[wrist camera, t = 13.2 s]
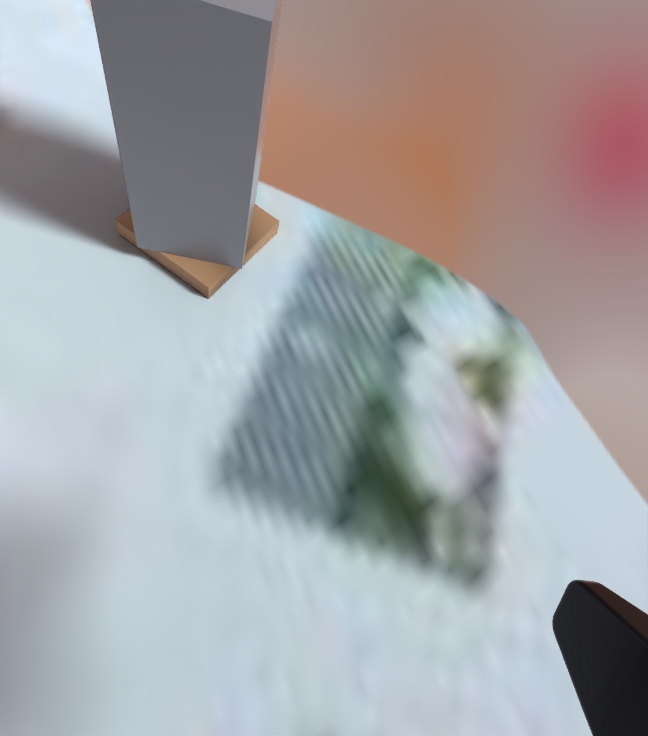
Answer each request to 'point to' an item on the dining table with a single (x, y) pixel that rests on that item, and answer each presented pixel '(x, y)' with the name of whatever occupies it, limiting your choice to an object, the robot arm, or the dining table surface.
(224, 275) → the post plinth
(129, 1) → the tall grey pillar
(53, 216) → the dining table surface
